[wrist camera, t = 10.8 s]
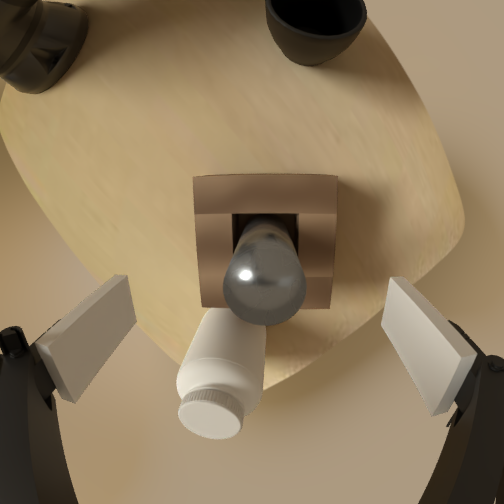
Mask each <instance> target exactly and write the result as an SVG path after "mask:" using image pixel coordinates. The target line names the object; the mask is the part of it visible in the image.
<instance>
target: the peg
mask: <svg viewBox="0 0 504 504" xmlns="http://www.w3.org/2000/svg"><path fill="white" fill-rule="evenodd" d="M306 290H307V283H306V278H305V275H304V272H303V269H302V267H301V264H300V261H299V259H298V256H297V253H296V251H295V248H294V245H293V243H292V240H291V237H290V235H289V232H288V230H287V227H286V225H285V223H284V221H283V220H282V219H281V218H280V217H279V216H277V215H275V214H273V213H259V214H256V215H254V216H253V217H251V218H250V219H249V220H248V222H247V223H246V225H245V228H244V230H243V232H242V235H241V237H240V240H239V242H238V244H237V247H236V249H235V252H234V254H233V257H232V259H231V261H230V264H229V266H228V269H227V271H226V274H225V277H224V281H223V294H224V298H225V301H226V303H227V305H228V306H229V308H230V309H231V311H232V312H233V313H234V314H235V315H236V316H238V317H239V318H240V319H242V320H244V321H246V322H248V323H251V324H254V325H260V326H270V325H276V324H279V323H282V322H284V321H286V320H288V319H289V318H291V317H292V316H293V315H294V314H295V313H296V312H297V311H298V310H299V309H300V307H301V306H302V304H303V302H304V299H305V296H306Z"/></svg>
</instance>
